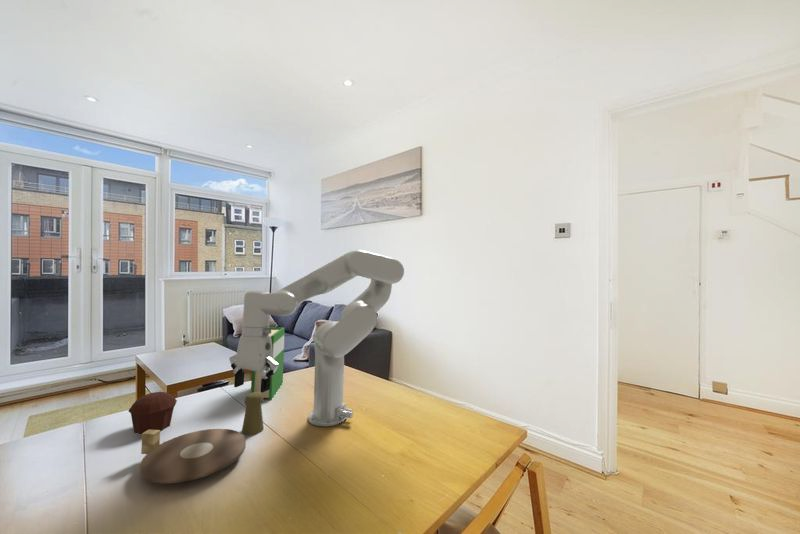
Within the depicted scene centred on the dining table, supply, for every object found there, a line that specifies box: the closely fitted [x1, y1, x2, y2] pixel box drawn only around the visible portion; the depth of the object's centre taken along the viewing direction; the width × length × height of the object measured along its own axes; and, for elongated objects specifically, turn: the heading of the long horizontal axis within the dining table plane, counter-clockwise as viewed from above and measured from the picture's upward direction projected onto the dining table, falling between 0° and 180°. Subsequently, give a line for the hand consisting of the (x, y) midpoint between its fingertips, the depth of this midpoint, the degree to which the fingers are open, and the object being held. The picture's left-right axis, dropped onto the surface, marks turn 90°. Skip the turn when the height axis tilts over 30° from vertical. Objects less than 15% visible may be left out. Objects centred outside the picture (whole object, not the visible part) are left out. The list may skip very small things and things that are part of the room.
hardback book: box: [250, 327, 286, 401], centre depth 127 cm, size 18×7×24 cm, turn 7°
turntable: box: [139, 428, 247, 484], centre depth 79 cm, size 23×22×5 cm
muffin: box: [128, 391, 178, 435], centre depth 96 cm, size 12×11×10 cm
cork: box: [241, 392, 265, 436], centre depth 96 cm, size 6×6×11 cm
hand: (251, 388), depth 96 cm, fingers open, 9 cm apart
